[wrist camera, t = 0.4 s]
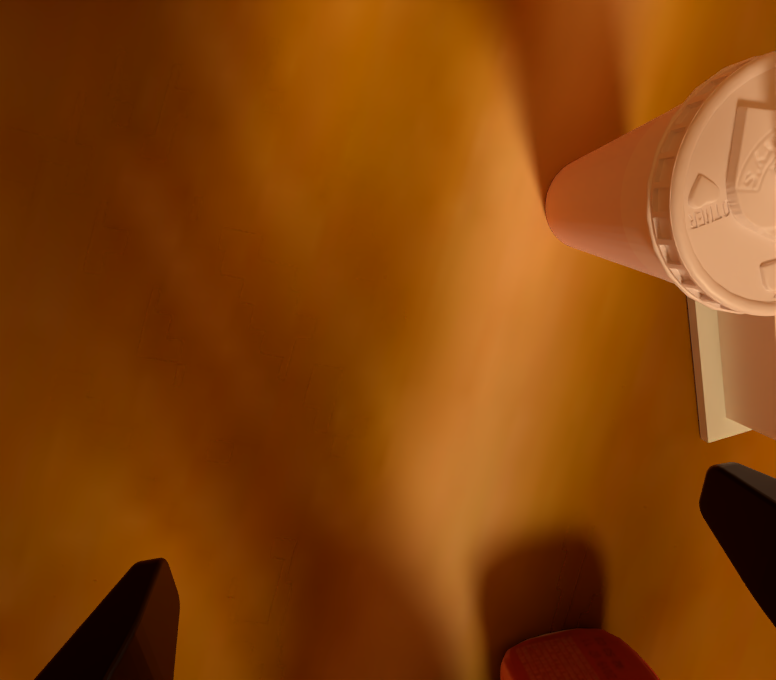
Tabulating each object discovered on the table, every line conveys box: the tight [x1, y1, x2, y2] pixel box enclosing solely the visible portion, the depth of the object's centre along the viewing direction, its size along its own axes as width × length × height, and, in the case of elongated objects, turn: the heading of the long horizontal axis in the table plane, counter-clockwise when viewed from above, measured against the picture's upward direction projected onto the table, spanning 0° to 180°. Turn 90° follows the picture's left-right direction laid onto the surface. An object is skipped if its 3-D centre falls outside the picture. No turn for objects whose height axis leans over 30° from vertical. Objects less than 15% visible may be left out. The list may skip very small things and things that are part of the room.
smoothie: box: [545, 51, 776, 316], centre depth 15 cm, size 6×6×14 cm
